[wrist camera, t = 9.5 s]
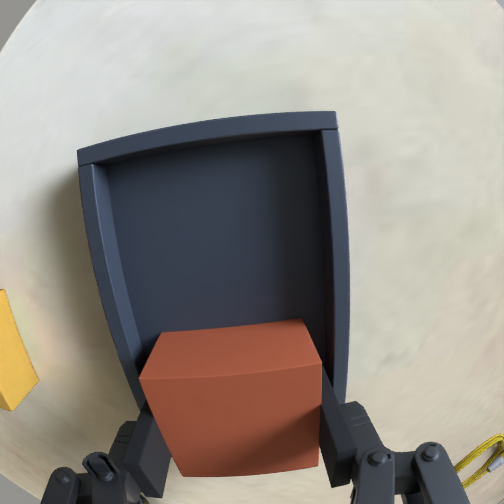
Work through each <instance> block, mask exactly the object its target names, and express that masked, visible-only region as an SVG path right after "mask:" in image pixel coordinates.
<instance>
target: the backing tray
mask: <svg viewBox="0 0 504 504" xmlns="http://www.w3.org/2000/svg"><path fill="white" fill-rule="evenodd" d="M337 129H338V121H337V114H336V112H335V111H307V112H285V113H270V114H257V115H247V116H237V117H229V118H221V119H213V120H206V121H200V122H193V123H187V124H182V125H176V126H171V127H165V128H160V129H155V130H151V131H146V132H142V133H137V134H133V135H129V136H125V137H121V138H117V139H113V140H109V141H105V142H102V143H98V144H95V145H91V146H88V147H85V148H81V149H78V150H77V159H78V166H79V168H78V173H79V183H80V192H81V200H82V207H83V214H84V221H85V227H86V233H87V238H88V244H89V249H90V254H91V259H92V264H93V268H94V273H95V277H96V281H97V285H98V289H99V293H100V297H101V301H102V304H103V308H104V312H105V315H106V319H107V322H108V325H109V329H110V332H111V335H112V338H113V341H114V344H115V347H116V350H117V353H118V356H119V359H120V362H121V364H122V367H123V370H124V372H125V375H126V378H127V380H128V383H129V385H130V388H131V390H132V393H133V395H134V398H135V400H136V402H137V405H138V407H139V409H140V412H141V409H142V407H143V404H144V402H145V399H146V397H145V394H144V392H143V389H142V387H141V384H140V381H139V376H140V374H141V372H142V370H143V368H144V366H145V364H146V362H147V360H148V358H149V356H150V354H151V352H152V350H153V348H154V346H155V344H156V342H157V340H158V338H159V336H160V334H161V333H162V332H176V331H190V330H202V329H213V328H224V327H234V326H243V325H252V324H260V323H268V322H276V321H284V320H291V319H298V318H302V320H303V322H304V324H305V326H306V328H307V331H308V333H309V335H310V337H311V339H312V342H313V344H314V346H315V348H316V351H317V353H318V355H319V357H320V360H321V362H322V365H323V367H324V370H325V372H326V374H327V377H328V379H329V381H330V384H331V386H332V388H333V390H334V393H335V395H336V397H337V400H338V402H339V404H340V405H341V404H345V398H346V386H347V373H348V355H349V330H350V260H349V235H348V217H347V203H346V190H345V179H344V169H343V160H342V151H341V143H340V136H339V131H338V130H337ZM171 457H172V455H171Z"/></svg>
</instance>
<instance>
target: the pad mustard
mask: <svg viewBox="0 0 504 504" xmlns="http://www.w3.org/2000/svg"><path fill="white" fill-rule="evenodd" d="M38 381H39V379H38V377H37V375H36V373H35V370H34V368H33V366H32V364H31V361H30V359H29V357H28V355H27V352H26V350H25V347H24V345H23V342H22V340H21V337H20V334H19V332H18V329H17V326H16V323H15V321H14V318H13V315H12V312H11V309H10V305H9V302H8V299H7V295H6V292H5V289H0V408H2V409H5V410H8V411H14V409H15V408H16V407H17V406H18V405H19V403H20V402H21V401H22V400H23V399H24V398H25V396H26V395H27V394H28V393H29V392H30V391H31V389H32V388H33V387H34V386H35V385H36V384H37V383H38Z"/></svg>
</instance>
